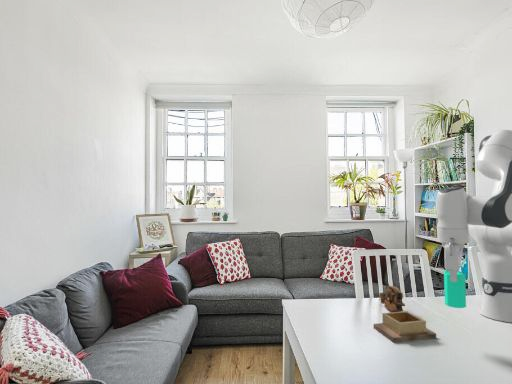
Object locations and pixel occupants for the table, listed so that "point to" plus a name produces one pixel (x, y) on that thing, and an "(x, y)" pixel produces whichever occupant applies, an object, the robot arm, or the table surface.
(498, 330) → the table surface
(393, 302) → the wooden carving
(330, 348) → the table surface
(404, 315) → the candle stand
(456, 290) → the candle
